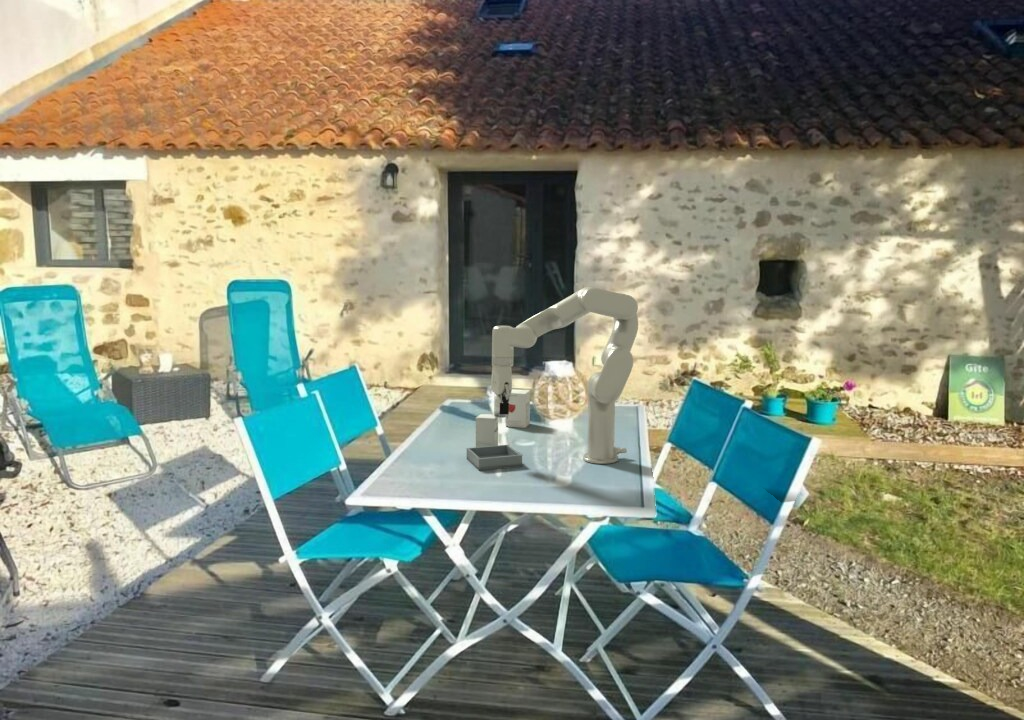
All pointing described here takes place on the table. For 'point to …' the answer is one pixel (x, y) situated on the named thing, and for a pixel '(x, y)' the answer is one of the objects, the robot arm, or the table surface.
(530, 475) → the table surface
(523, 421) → the supplement box
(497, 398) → the tin can
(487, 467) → the tray
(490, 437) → the supplement box
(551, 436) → the table surface
